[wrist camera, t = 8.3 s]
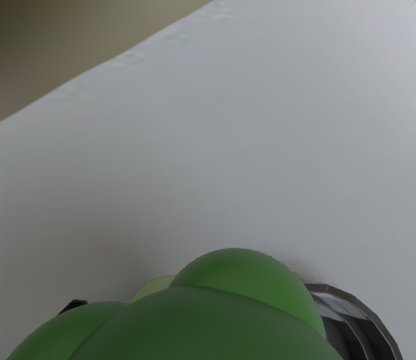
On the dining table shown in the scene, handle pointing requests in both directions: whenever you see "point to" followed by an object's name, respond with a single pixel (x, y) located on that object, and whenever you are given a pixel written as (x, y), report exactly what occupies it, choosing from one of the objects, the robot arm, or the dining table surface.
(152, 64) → the dining table surface
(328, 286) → the pan
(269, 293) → the broccoli
